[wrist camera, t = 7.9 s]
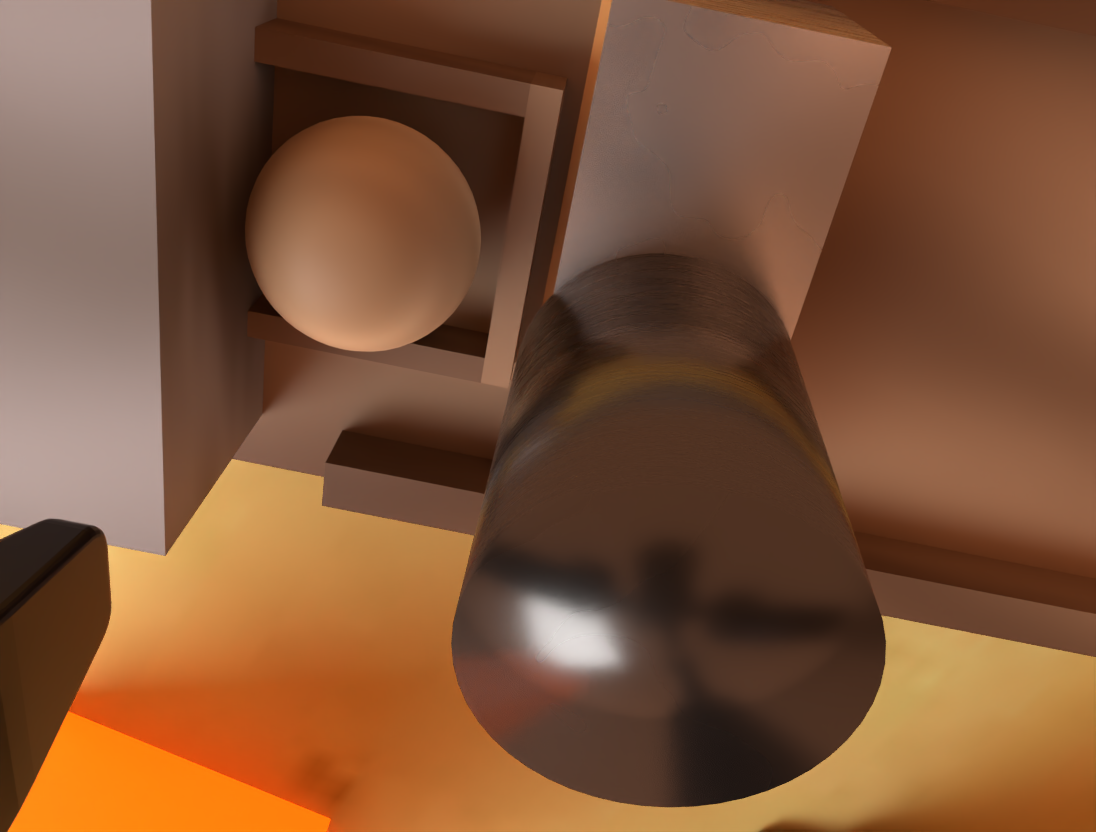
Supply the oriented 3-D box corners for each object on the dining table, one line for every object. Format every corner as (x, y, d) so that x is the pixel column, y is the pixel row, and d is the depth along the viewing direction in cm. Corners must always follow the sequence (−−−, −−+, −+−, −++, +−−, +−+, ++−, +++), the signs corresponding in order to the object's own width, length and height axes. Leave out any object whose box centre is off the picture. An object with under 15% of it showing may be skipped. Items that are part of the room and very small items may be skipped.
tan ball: (478, 316, 17) (444, 413, 14) (284, 277, 17) (207, 366, 14) (510, 118, 16) (478, 179, 13) (293, 73, 16) (207, 124, 12)
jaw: (688, 523, 18) (726, 995, 10) (498, 486, 18) (399, 933, 10) (852, 10, 13) (1131, 187, 6) (598, -43, 13) (551, 67, 6)
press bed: (1201, 608, 21) (1385, 847, 16) (128, 396, 21) (-42, 573, 15) (1594, 43, 15) (2092, 133, 10) (98, -275, 15) (-196, -353, 10)
